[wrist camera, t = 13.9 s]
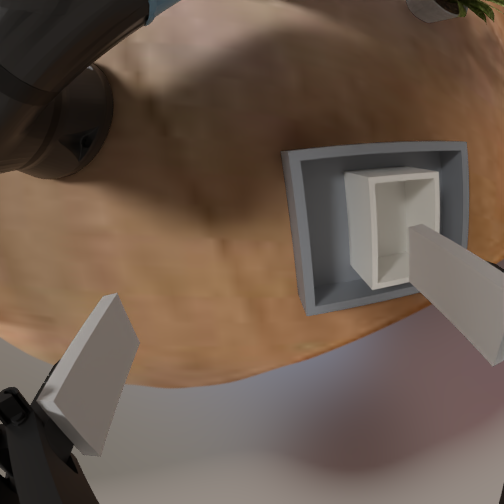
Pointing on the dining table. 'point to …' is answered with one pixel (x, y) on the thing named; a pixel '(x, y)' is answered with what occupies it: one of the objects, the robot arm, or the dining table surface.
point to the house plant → (450, 9)
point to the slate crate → (336, 219)
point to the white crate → (388, 219)
